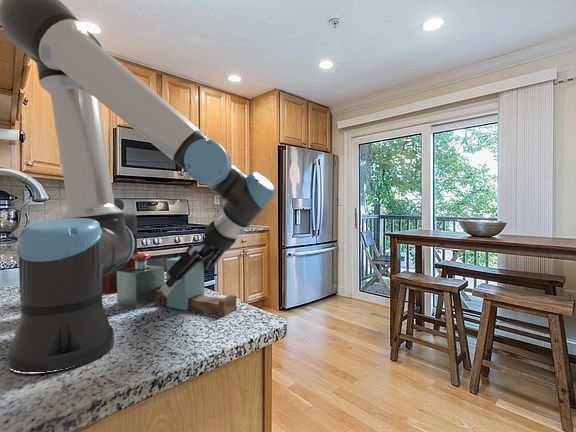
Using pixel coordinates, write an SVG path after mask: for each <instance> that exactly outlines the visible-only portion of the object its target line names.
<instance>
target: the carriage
mask: <svg viewBox="0 0 576 432" xmlns="http://www.w3.org/2000/svg"><path fill="white" fill-rule="evenodd" d="M180 257H181V256H177V257H172V258H167V259H165V260H166V261H165V262H166V263H165V265H166V267H165V268H166V269H165V270H166V281H167V280H168V278H169V277H170V276H169V274H168V273H167V272H168V271H169V269H170V268H171V267H172V266H173V265H174V264H175V263H176V262H177V261H178V260H179V258H180ZM200 257H201V256H200ZM201 258H202V257H201ZM181 279H182V280H181V282H180V283H179V284H178V285H177V286H176V288H175V289H174V290H173V291H172V292H171V294H170V295H169V296H168V297H167V305H166V306H167V308H170V309H171V308H172V309H177V310H181V311H187V310H189V309H188V299H189V298H192V297H194V296H197V295H202V296H205V274H204V263H203V262H199V263H198V264H197V265H195V266H194V267H193V268H192V269H191V270H190V271H189V272H188V273H186V274H185V275H184V276H183V277H182V278H181Z"/></svg>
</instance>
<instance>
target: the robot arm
mask: <svg viewBox="0 0 576 432" xmlns="http://www.w3.org/2000/svg"><path fill="white" fill-rule="evenodd" d="M0 25H1V28H2V30H3V32H4V34H5V36H6V37H7V38H8V40H9V42H11V43H12V44H13V45H14V46H15V47H16V49H18V50H19V51H21V53H23V54H25V56H27V57H28V58H29V59H32V60H33V61H35V63H36V69H37V74H38V80H39V85H40V88H42V89H43V90H44V91H46V92H47V93H48V94H49V95H50V98H51V99H50V100H51V105H52V106H51V107H52V113H53V118H54V125H55V132H56V137H57V144H58V151H59V157H60V163H61V164H60V165H61V170H62V177H63V182H64V189H65V195H66V202H67V208H68V209H67V210H66V211H65V213H64V214H63V215H62V216H61V217H60V218H58V219H53V220H42V221H37V222H33V223H30V224H27V225H26V226H24V227H23V228H22V229H21V230H20V231H19V234H18V245H17V249H16V253H17V256H18V271H19V273H18V275H19V276H18V277H19V296H20V297H19V300H20V320H19V323H18V325H17V329H16V331H15V335H14V339H13V341H12V345H11V346H10V348H9V350H8V354H7V358H8V362H7V363H8V365H9V366H8V368H9V367H10V368H11V369H13V370H16V371H20V372H47V371H54V370H60V369H66V368H69V367H73V366H77V365H80V364H83V365H85V364H84V363H86V364H88V363H90V362H93V361H95V360H97V359H99V358H101V357H103V356H104V355H106V353H108V352H109V351H110V350H111V349H112V348H113V347H114V345H115V331H114V329H113V327H112V325H110V321H109V318H108V316H107V313H106V310H105V309H106V308H105V307H104V303H103V292H102V277H104V276H106V275H109V274H112V273H114V272H116V271H118V270H119V269H120V268H122V267H123V266H124V265H125V264H126V263H127V262H128V261H129V259H130V258H131V256H132V254H133V252H134V247H135V241H134V237H133V234H132V233H131V231H130V230H129V229H128V228H127V227H126V226H125V220H124V214H123V213H124V211H123V210H121V209H119V208H118V207H116V206H115V204H114V199H115V198H114V192H113V185H112V184H113V183H112V179H111V173H110V171H111V170H110V166H109V165H110V164H109V157H108V151H107V145H106V139H105V131H104V123H103V117H102V111H101V104H102V105H103V106H105V107H106V108H107V109H108V110H110V112H112V113H114V115H116V116H117V117H119V118H120V119H121V120H122V121H123V122H125V123H126V124H127V125H128V126H129V127H131V128H132V129H134V131H136V132H137V133H138V134H139V135H141V136H142V137H143V138H144V139H146V140H147V141H148V142H150V144H152V146H155V147H156V148H157V149H158V150H159V151H161V152H162V154H164V155H166V157H168V158H169V159H170V160H172V161H173V162H174V163H175V164H176V165H177V166H179V167H180V168H181V169H182V170H184V171H185V172H186V173H187V174H188V176H189V177H191V179H192V180H194V181H195V182H197V183H199V184H201V185H205V186H206V187H207V188H209V189H210V190H211V191H213V192H214V193H215V194H216V195H218V196H220V197H221V199H222V200H225V202H226V203H225V204H224V205H223V207H221V208H220V210H219V211H218V213H216V215H215V216H214V217H213V219H212V220H211V221H210V222H209V224H208V225H207V226H206V228H205V229H204V230H203V231H204V233H203V235H204V238H203V240H201V241H200V242H199V243H198V245H196V246H194V244H191V245H188V247H187V249H186V251H185V252H184V253H183V254H182V255H181V256H179V257H180V258H179V260H178V261H177V262H176V263H175V264H174V265H173V266H172V267H171V268H170V269H169V271H168V272H167V273H168V274H169V276H170V277H169V278H168V280H167V279H166V281H164V285H163V286H162V287H161V288H160V289H161V291H162V292H163V294H164V295H165V296H166V297H168V296H169V295H170V294H171V292H172V291H173V290H174V289H175V288H176V286H177V285H178V284H179V283H180V282H181V280H182V279H181V278H182V277H183V276H184V275H185V274H186V273H188V272H189V271H190V270H191V269H192V268H193V267H194V266H195V265H197V264H198V263H199V262H203V263H204V276H205V275H208V274H209V273H210V272H209V270H212V269H213V268H214V266H215V265H216V264H217V263H218V261H219V260H220V259H221V258H222V256H223V255H224V253H225V252H226V251H228V250H229V249H230V248H232V247H233V245H234V244H235V243H236V242H237V240H238V239H239V238H240V237H241V236H242V235H245V234H246V230H247V229H248V228H249V226H250V225H252V223H253V222H254V221H255V220H256V218H257V217H258V216H259V215H260V214H261V213H262V212H263V211H264V210H265V209H266V208H267V206H268V204H269V203H271V201H272V199H273V198H274V197H275V195H276V189H275V186H274V185H273V183H272V182H271V181H270V180H269V179H268V178H267V177H266V176H263V175H262V174H260V173H259V172H257V171H253V172H252V171H251V172H250V173H249V174H248V175H246V173H244V172H243V171H241V170H240V169H239V168H238V167H237V166H236V165H234V164H233V163H232V162H231V158H230V157H231V156H230V154H229V153H228V150H226V148H224V146H222V144H220V143H219V142H218V141H215V140H212V139H211V138H210V137H209V136H207V135H206V134H205V133H204V132H203V131H202V130H201V129H200V128H198V127H197V125H195V124H193V123H192V122H191V121H190V120H189V119H188V118H186V117H185V116H184V115H183V114H182V113H180V112H179V111H178V110H177V109H176V108H175V107H173V106H172V105H171V104H170V103H168V102H167V101H166V100H165V99H163V97H161V96H160V95H159V94H158V93H157V92H156V91H154V90H153V89H152V88H151V87H149V85H147V84H146V83H144V81H142V80H141V79H140V78H139V77H137V76H136V75H135V74H134V73H133V72H131V71H130V70H129V69H128V68H126V66H124V65H123V64H122V63H121V62H120V61H119V60H117V59H116V58H115V57H114V56H113V55H111V54H110V53H109V52H108V51H106V50H105V49H104V48H103V46H102V44H100V42H99V40H98V39H97V38H96V37H95V36H94V35H93V34H92V33H90V31H89V30H88V29H87V27H86V25H84V23H83V22H82V21H80V20H79V19H78V18H77V17H76V16H75V15H74V14H73V13H72V11H70V9H69V8H68V7H67V6H66V5H65V4H64V3H63V2H62V1H61V0H2V1H1V3H0ZM201 257H202V258H201ZM167 273H166V274H167ZM100 356H101V357H100ZM98 357H99V358H98ZM96 358H97V359H96ZM94 359H95V360H94ZM92 360H93V361H92ZM89 361H90V362H89ZM87 362H88V363H87ZM80 366H81V365H80ZM77 367H78V366H77Z"/></svg>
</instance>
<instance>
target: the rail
mask: <svg viewBox="0 0 576 432" xmlns="http://www.w3.org/2000/svg"><path fill="white" fill-rule="evenodd" d="M154 304H155V305H159V306H160V305H162V306H167V297H166V296H165V295H164V294H163V292H162V291H161V289H160V290H156V291H155V303H154ZM188 310H190V311H191V310H192V311H197V312H201V311H202V312H203V313H208V314H213V315H218V316H219V317H226V316H228V315H230V314H231V313H234V312H235V311H237V296H236V295H229V296H227V297H224V298H221V297H216V296H215V297H213V296H207V295H204V296H202V295H197V296H194V297H192V298H189V299H188Z"/></svg>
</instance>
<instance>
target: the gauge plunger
mask: <svg viewBox="0 0 576 432" xmlns="http://www.w3.org/2000/svg"><path fill="white" fill-rule="evenodd" d="M150 258H151V253H150V252H137V253H135V254H132V256H131V259H135V271H143V270H147V265H148V263H147V262H148V261H147V259H150Z"/></svg>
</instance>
